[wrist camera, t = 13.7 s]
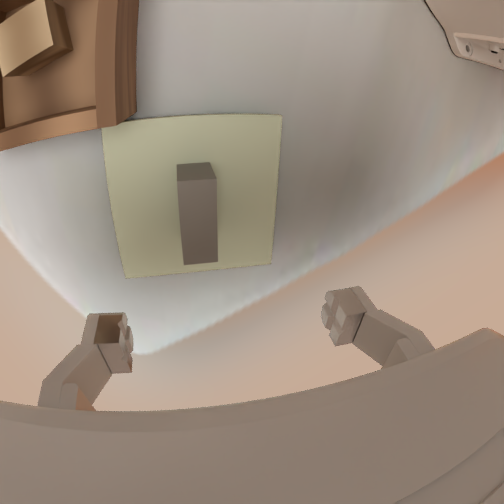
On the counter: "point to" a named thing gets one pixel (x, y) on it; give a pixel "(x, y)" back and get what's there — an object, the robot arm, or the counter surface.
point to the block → (33, 38)
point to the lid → (193, 191)
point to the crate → (75, 75)
